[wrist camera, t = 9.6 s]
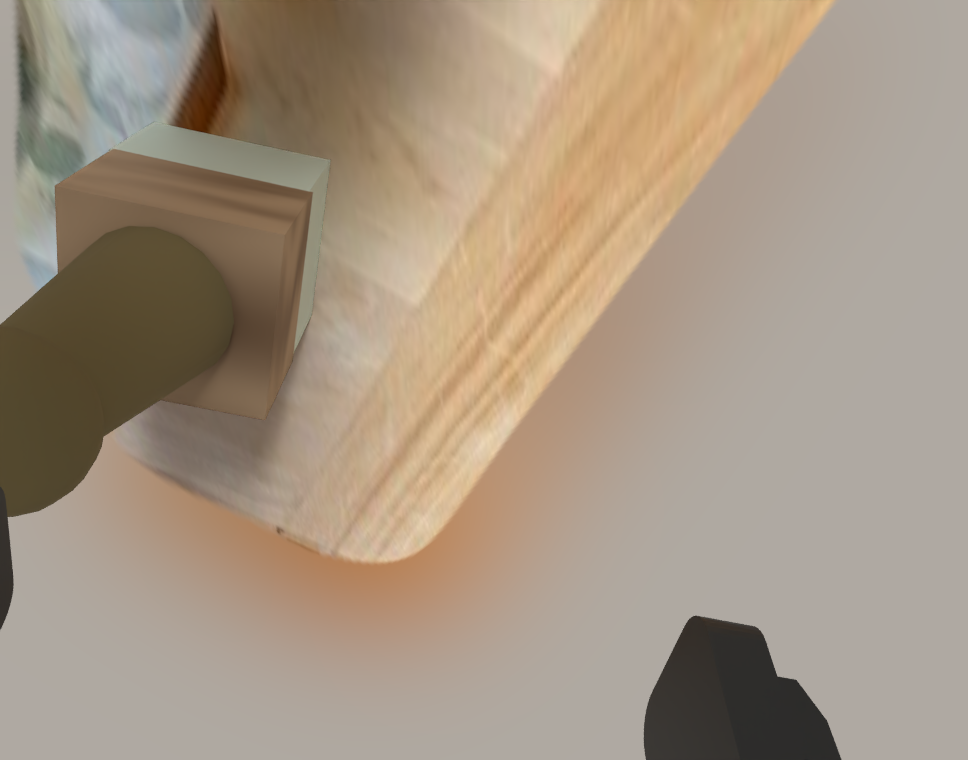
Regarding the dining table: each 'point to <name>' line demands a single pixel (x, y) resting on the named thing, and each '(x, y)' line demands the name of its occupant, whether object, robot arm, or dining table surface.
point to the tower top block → (225, 242)
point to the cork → (101, 355)
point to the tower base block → (247, 164)
